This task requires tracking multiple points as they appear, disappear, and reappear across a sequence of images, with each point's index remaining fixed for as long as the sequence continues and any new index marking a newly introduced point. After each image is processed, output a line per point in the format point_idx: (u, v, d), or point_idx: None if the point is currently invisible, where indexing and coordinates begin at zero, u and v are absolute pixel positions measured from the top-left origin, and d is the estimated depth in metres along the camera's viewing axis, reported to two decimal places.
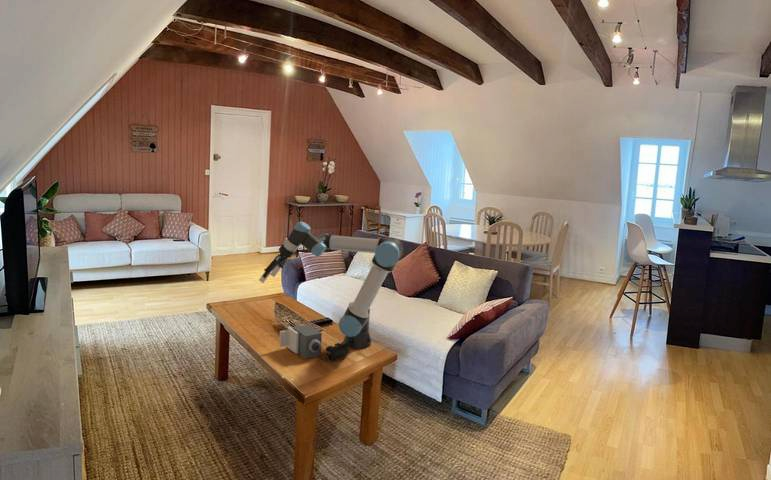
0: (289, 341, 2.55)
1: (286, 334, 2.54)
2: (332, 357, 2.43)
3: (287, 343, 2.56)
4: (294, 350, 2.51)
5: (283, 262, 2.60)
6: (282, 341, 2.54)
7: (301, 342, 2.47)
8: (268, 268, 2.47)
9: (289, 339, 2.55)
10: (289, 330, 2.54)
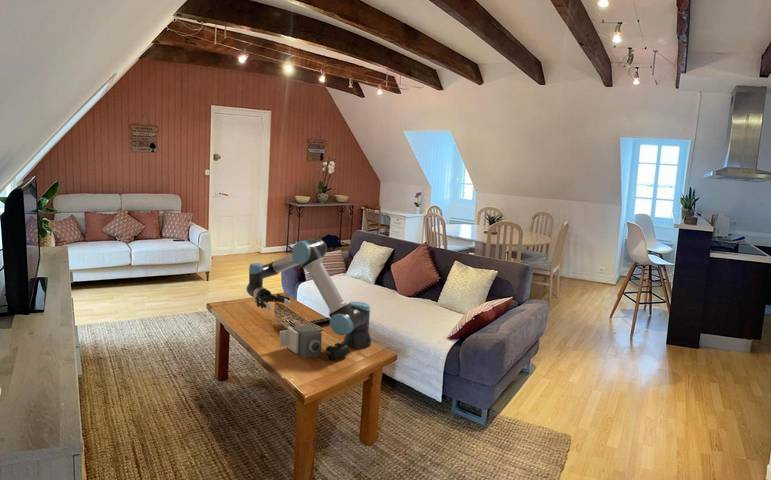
0: (289, 341, 2.55)
1: (286, 334, 2.54)
2: (332, 357, 2.43)
3: (287, 343, 2.56)
4: (294, 350, 2.51)
5: (279, 297, 2.66)
6: (282, 341, 2.54)
7: (301, 342, 2.47)
8: (257, 304, 2.57)
9: (289, 339, 2.55)
10: (289, 330, 2.54)
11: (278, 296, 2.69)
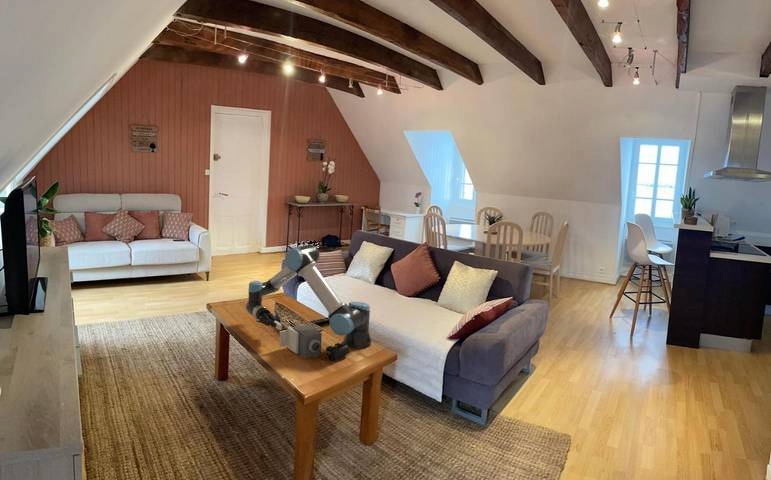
0: (289, 341, 2.55)
1: (286, 334, 2.54)
2: (332, 357, 2.43)
3: (287, 343, 2.56)
4: (294, 350, 2.51)
5: (273, 317, 2.66)
6: (282, 341, 2.54)
7: (301, 342, 2.47)
8: (265, 323, 2.61)
9: (289, 339, 2.55)
10: (289, 330, 2.54)
11: (275, 316, 2.70)
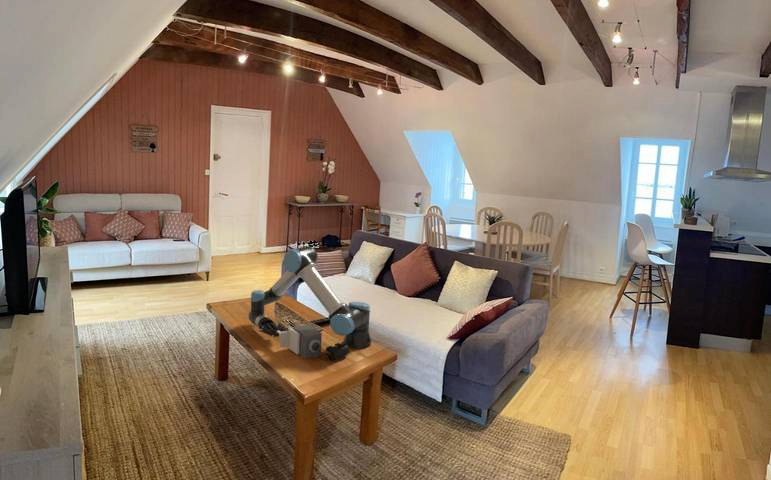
0: (290, 342, 2.54)
1: (287, 335, 2.54)
2: (332, 357, 2.43)
3: (288, 344, 2.55)
4: (295, 351, 2.50)
5: (276, 327, 2.64)
6: (283, 342, 2.53)
7: (301, 342, 2.47)
8: (268, 333, 2.59)
9: (290, 339, 2.54)
10: (290, 331, 2.53)
11: (278, 325, 2.68)
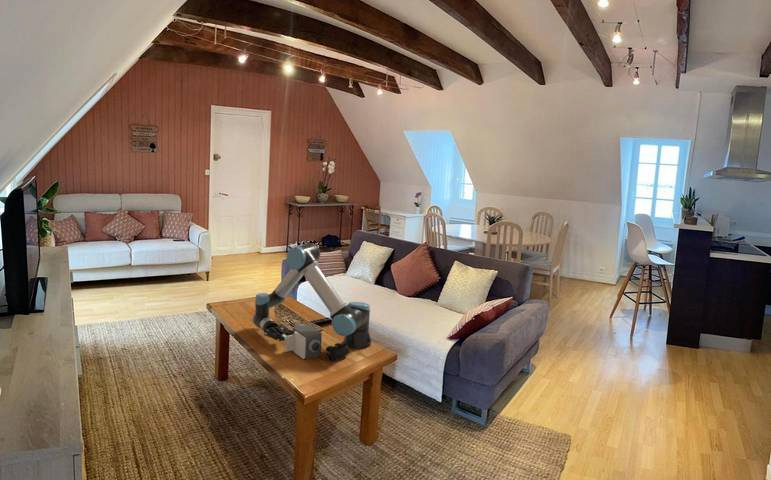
0: (296, 346, 2.49)
1: (293, 339, 2.49)
2: (332, 357, 2.43)
3: (294, 348, 2.50)
4: (301, 355, 2.45)
5: (281, 331, 2.59)
6: (288, 346, 2.48)
7: None
8: (273, 337, 2.54)
9: (296, 344, 2.49)
10: (296, 335, 2.48)
11: (283, 329, 2.63)
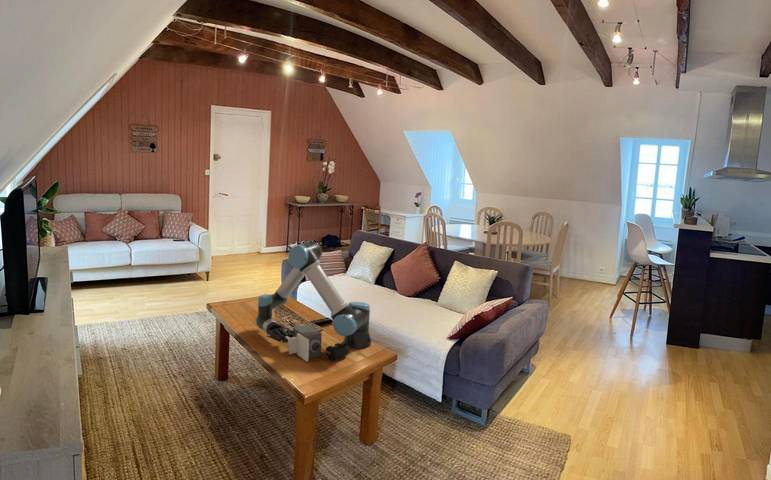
0: (299, 348, 2.46)
1: (296, 341, 2.46)
2: (332, 357, 2.43)
3: (297, 350, 2.47)
4: (304, 358, 2.42)
5: (285, 332, 2.56)
6: (291, 348, 2.45)
7: None
8: (277, 338, 2.51)
9: (299, 346, 2.46)
10: (299, 337, 2.46)
11: (286, 331, 2.60)
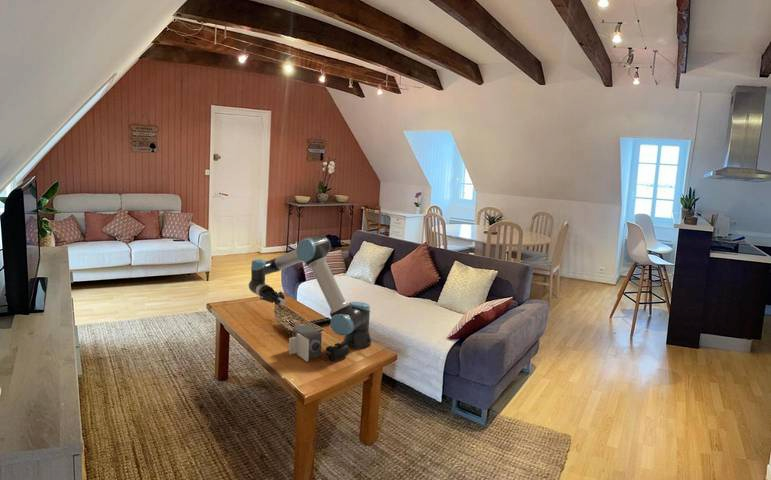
0: (299, 348, 2.46)
1: (296, 341, 2.46)
2: (332, 357, 2.43)
3: (297, 350, 2.47)
4: (304, 358, 2.42)
5: (277, 294, 2.61)
6: (291, 348, 2.45)
7: None
8: (269, 300, 2.56)
9: (299, 346, 2.46)
10: (299, 337, 2.46)
11: (279, 293, 2.65)
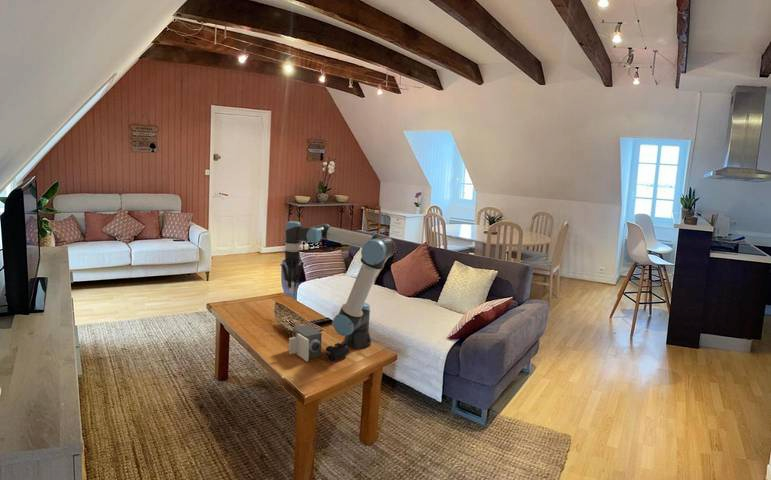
0: (299, 348, 2.46)
1: (296, 341, 2.46)
2: (332, 357, 2.43)
3: (297, 350, 2.47)
4: (304, 358, 2.42)
5: (295, 272, 2.63)
6: (291, 348, 2.45)
7: None
8: (284, 277, 2.61)
9: (299, 346, 2.46)
10: (299, 337, 2.46)
11: (299, 266, 2.64)
